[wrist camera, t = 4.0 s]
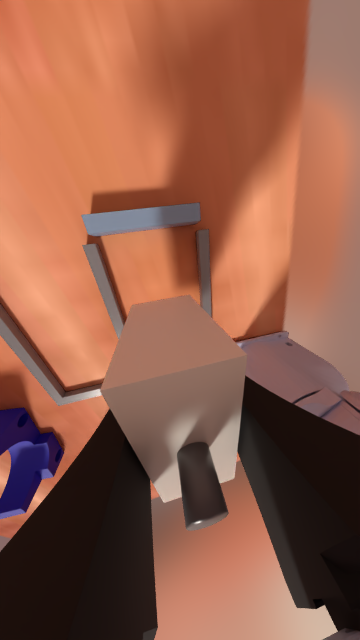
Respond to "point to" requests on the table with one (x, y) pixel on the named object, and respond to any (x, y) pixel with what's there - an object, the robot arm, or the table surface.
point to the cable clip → (25, 459)
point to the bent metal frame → (22, 348)
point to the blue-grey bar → (141, 219)
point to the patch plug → (179, 402)
